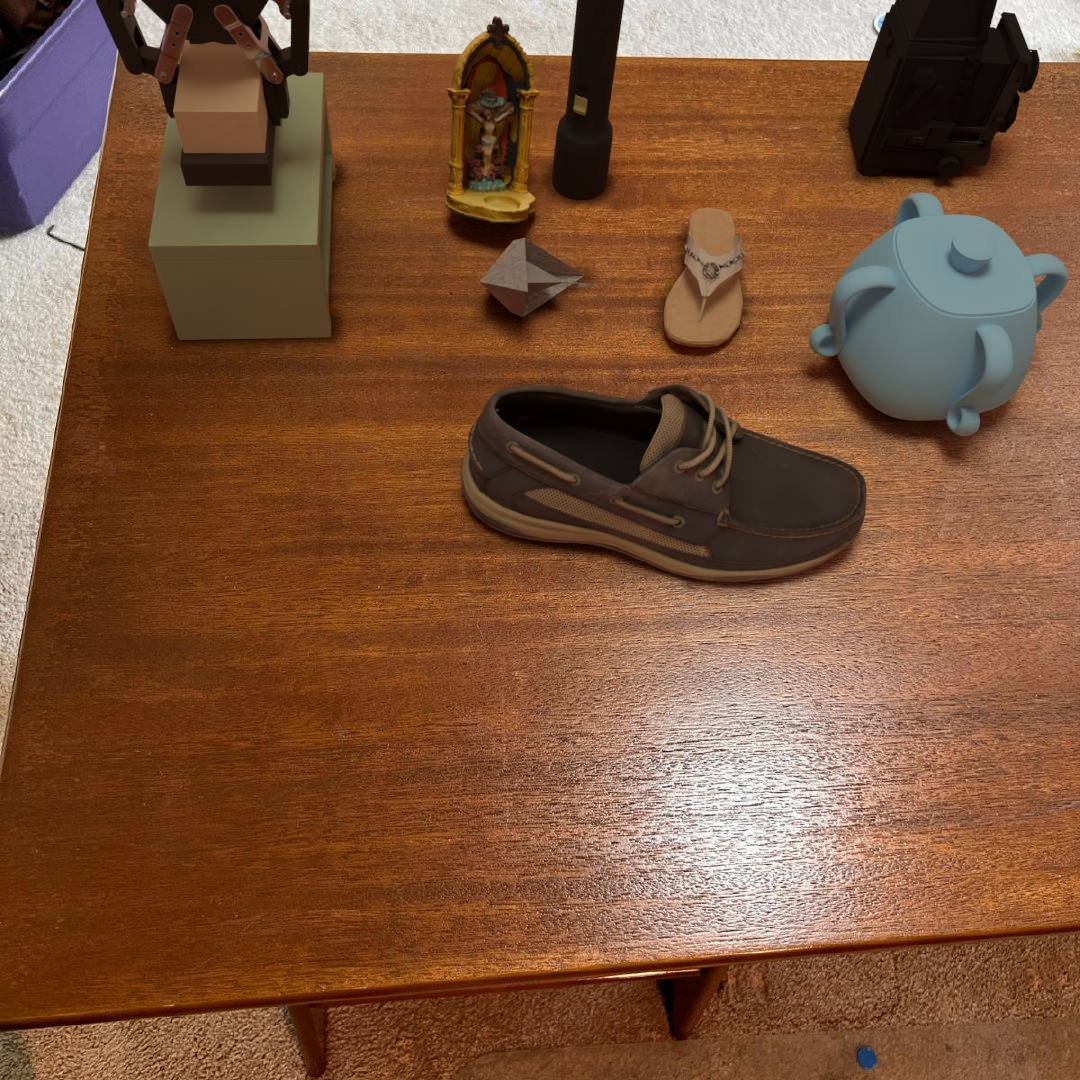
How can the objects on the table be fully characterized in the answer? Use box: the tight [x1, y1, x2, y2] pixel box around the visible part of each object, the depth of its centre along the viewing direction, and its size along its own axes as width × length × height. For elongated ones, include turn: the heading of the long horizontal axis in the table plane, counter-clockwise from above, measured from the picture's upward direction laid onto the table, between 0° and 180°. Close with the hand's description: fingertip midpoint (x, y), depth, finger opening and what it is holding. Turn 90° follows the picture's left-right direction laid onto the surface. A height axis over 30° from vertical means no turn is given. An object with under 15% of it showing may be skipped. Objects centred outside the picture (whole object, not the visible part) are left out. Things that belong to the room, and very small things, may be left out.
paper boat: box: [479, 237, 593, 318], centre depth 88 cm, size 12×6×9 cm
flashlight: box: [551, 0, 625, 201], centre depth 89 cm, size 5×24×5 cm
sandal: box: [662, 207, 746, 348], centre depth 90 cm, size 7×16×5 cm, turn 175°
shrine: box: [444, 15, 541, 224], centre depth 90 cm, size 12×8×15 cm
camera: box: [848, 0, 1041, 179], centre depth 95 cm, size 10×14×20 cm
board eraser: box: [173, 40, 276, 186], centre depth 78 cm, size 14×6×6 cm, turn 5°
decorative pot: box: [808, 192, 1069, 437], centre depth 84 cm, size 16×16×14 cm
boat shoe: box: [460, 383, 868, 583], centre depth 75 cm, size 11×29×11 cm, turn 86°
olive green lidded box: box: [147, 72, 336, 341], centre depth 87 cm, size 20×12×10 cm, turn 5°
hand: (231, 118), depth 79 cm, fingers closed on board eraser, 6 cm apart
